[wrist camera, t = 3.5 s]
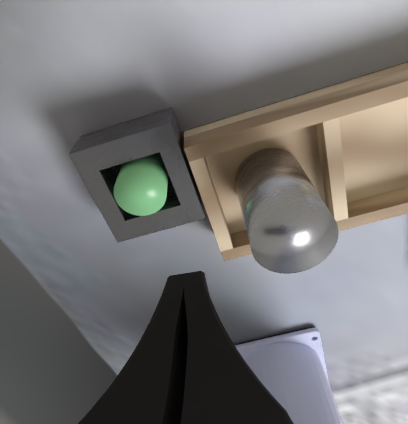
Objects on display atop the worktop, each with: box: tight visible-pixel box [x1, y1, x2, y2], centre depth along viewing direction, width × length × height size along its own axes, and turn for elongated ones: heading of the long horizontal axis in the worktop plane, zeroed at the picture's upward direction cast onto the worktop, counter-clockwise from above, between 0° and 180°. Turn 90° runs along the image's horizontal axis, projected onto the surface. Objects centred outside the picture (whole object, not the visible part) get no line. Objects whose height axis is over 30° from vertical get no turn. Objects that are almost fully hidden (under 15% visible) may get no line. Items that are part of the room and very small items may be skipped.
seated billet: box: [235, 148, 338, 273], centre depth 19 cm, size 4×4×6 cm
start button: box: [114, 152, 168, 216], centre depth 20 cm, size 3×3×3 cm
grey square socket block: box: [69, 108, 205, 242], centre depth 21 cm, size 6×6×2 cm
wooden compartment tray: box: [184, 62, 408, 261], centre depth 21 cm, size 8×15×2 cm, turn 107°
